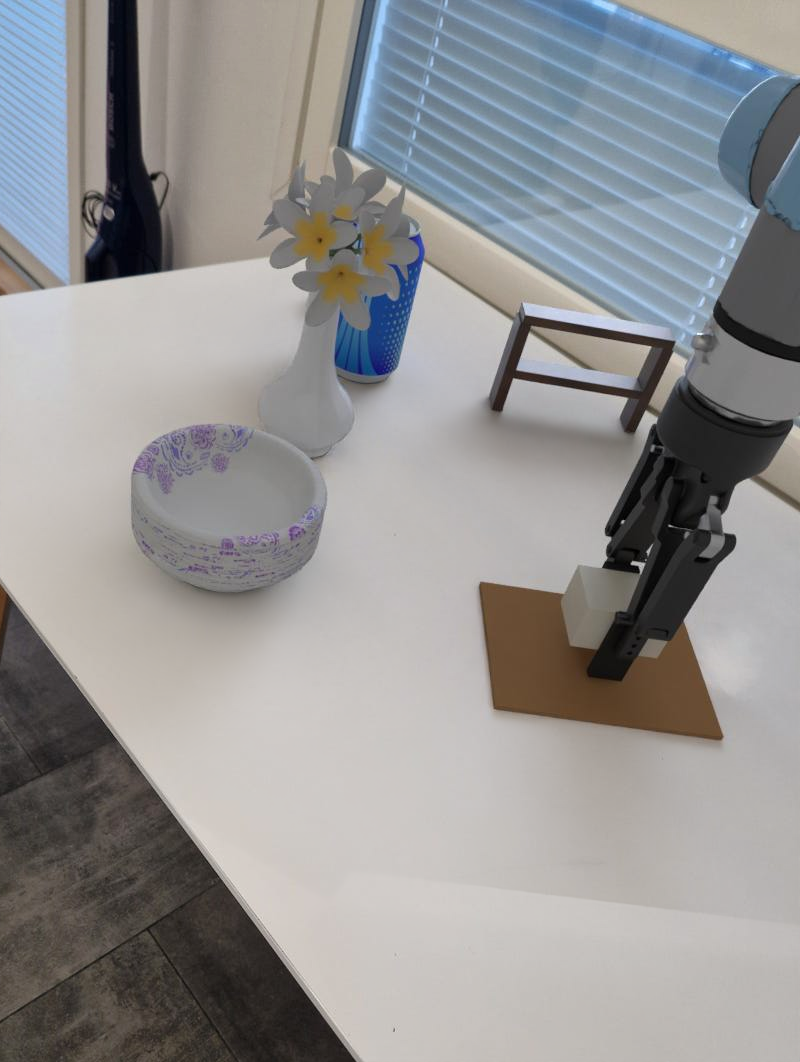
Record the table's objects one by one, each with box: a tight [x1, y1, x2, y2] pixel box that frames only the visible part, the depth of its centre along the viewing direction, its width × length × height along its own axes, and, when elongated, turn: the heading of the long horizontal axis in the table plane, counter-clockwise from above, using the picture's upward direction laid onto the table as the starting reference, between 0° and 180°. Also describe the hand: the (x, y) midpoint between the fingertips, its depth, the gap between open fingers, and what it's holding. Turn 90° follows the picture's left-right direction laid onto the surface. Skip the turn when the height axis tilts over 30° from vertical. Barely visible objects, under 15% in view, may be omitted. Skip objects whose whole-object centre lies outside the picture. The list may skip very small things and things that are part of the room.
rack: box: [488, 301, 677, 434], centre depth 96 cm, size 16×3×11 cm, turn 87°
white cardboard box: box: [561, 564, 668, 658], centre depth 69 cm, size 7×5×4 cm
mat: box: [479, 581, 724, 741], centre depth 73 cm, size 18×14×1 cm
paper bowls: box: [130, 423, 328, 593], centre depth 72 cm, size 15×15×8 cm
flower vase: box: [255, 147, 419, 459], centre depth 79 cm, size 13×18×25 cm
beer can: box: [335, 212, 426, 384], centre depth 94 cm, size 8×8×16 cm
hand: (597, 649), depth 72 cm, fingers closed on white cardboard box, 5 cm apart
